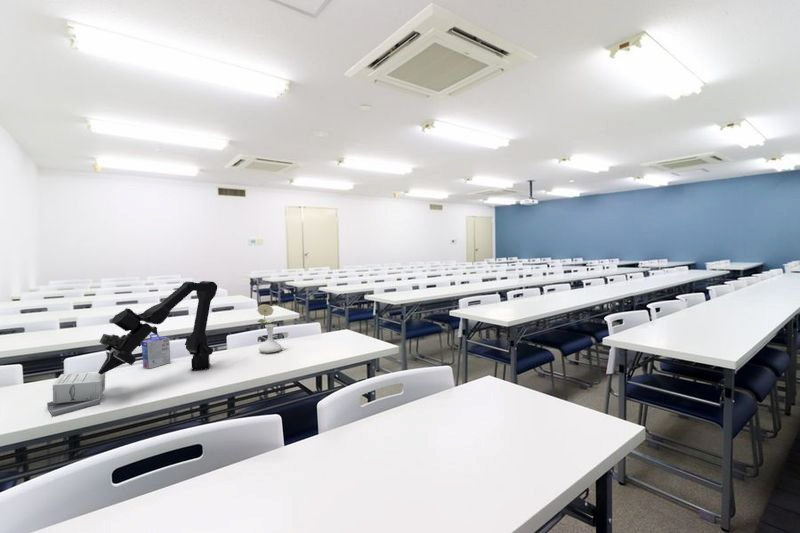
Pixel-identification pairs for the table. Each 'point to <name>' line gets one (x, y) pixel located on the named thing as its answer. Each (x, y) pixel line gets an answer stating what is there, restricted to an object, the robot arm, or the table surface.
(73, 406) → the tray
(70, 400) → the supplement box
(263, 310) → the flower in vase
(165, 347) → the ink cartridge box
